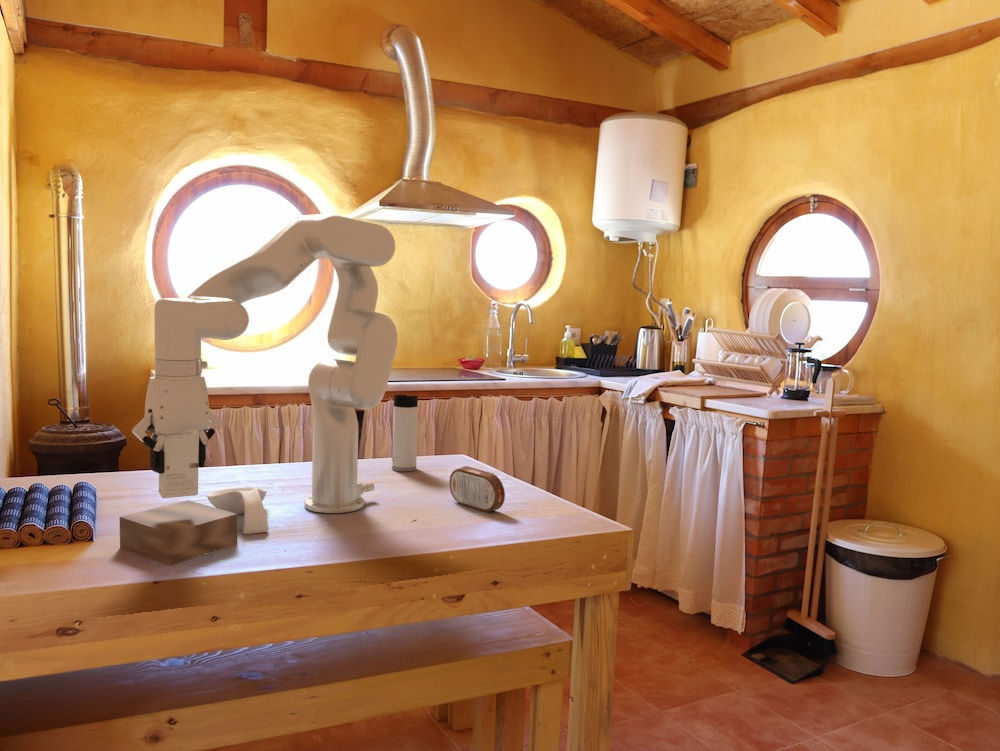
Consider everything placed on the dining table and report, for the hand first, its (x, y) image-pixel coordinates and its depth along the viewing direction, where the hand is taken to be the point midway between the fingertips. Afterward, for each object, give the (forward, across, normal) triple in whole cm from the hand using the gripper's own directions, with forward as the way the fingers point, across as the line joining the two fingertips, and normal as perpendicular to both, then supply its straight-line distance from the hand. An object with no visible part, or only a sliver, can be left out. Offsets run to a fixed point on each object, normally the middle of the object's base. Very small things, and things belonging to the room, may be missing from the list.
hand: (178, 468), depth 141 cm
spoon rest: (+15, -18, -8) cm, 24 cm away
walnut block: (+15, 0, 0) cm, 15 cm away
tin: (+14, -58, +19) cm, 63 cm away
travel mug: (+14, -70, -17) cm, 74 cm away
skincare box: (+5, 0, 0) cm, 5 cm away
